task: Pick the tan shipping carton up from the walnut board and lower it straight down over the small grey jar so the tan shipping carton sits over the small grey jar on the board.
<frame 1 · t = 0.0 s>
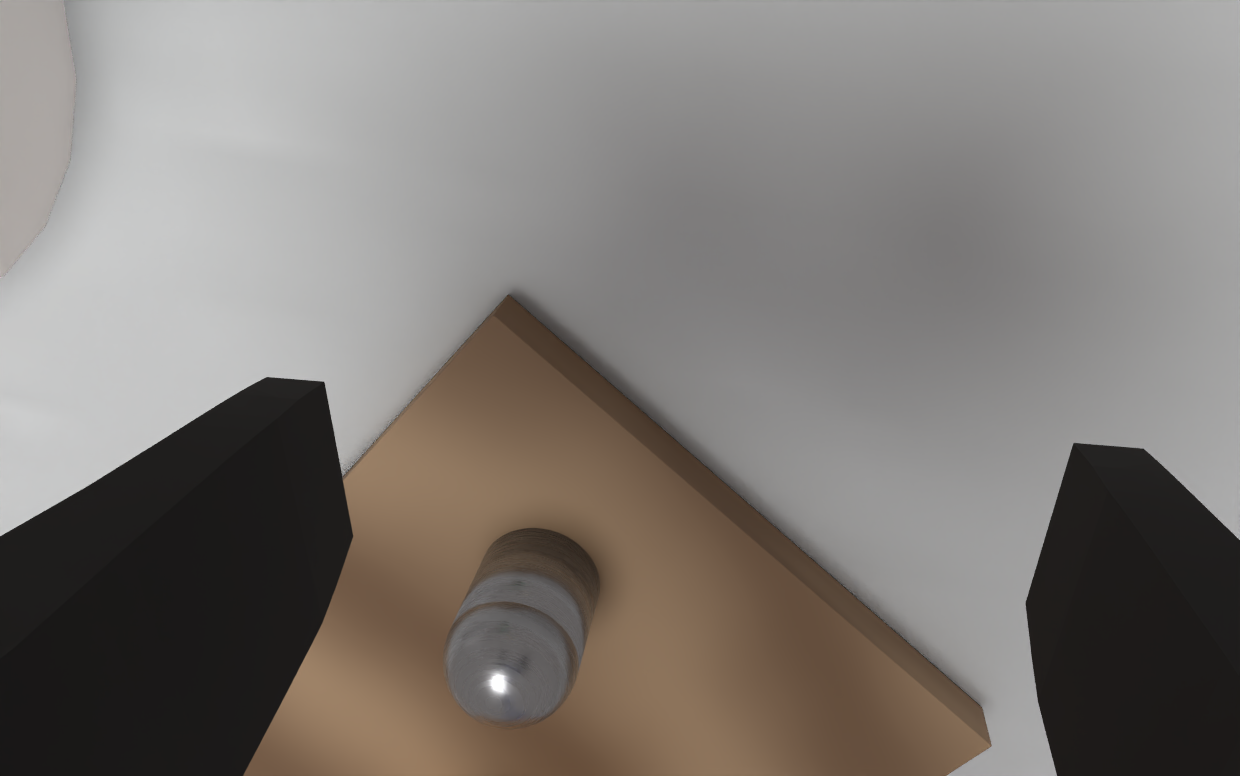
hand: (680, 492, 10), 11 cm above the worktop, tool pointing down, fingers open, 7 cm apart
small grey jar: (540, 580, 23), resting on board
board: (524, 710, 26), on the worktop
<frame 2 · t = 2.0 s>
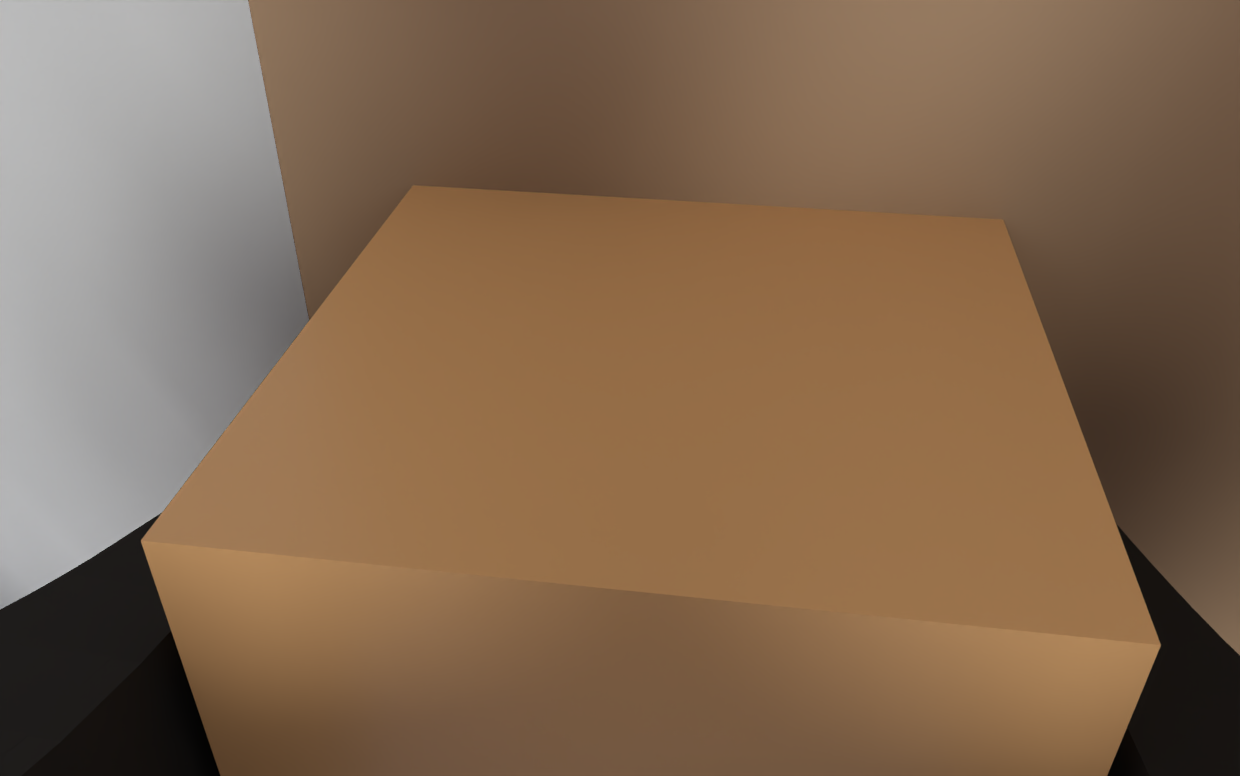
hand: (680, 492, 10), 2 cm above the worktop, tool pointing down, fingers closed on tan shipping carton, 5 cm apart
tan shipping carton: (687, 438, 11), point 1 cm above the worktop, touching board, gripper
board: (1131, 145, 10), on the worktop
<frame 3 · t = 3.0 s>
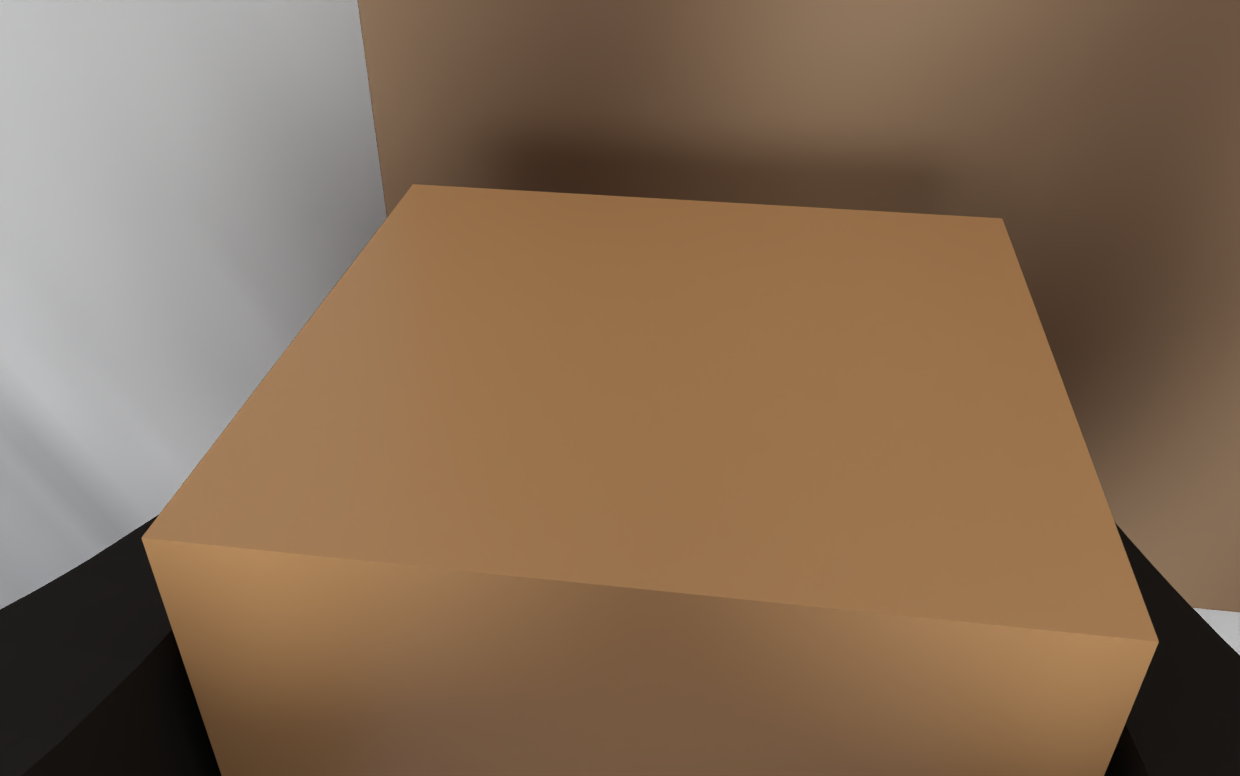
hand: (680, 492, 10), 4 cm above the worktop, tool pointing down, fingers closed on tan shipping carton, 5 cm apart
tan shipping carton: (687, 437, 11), point 4 cm above the worktop, touching gripper
board: (1085, 62, 12), on the worktop
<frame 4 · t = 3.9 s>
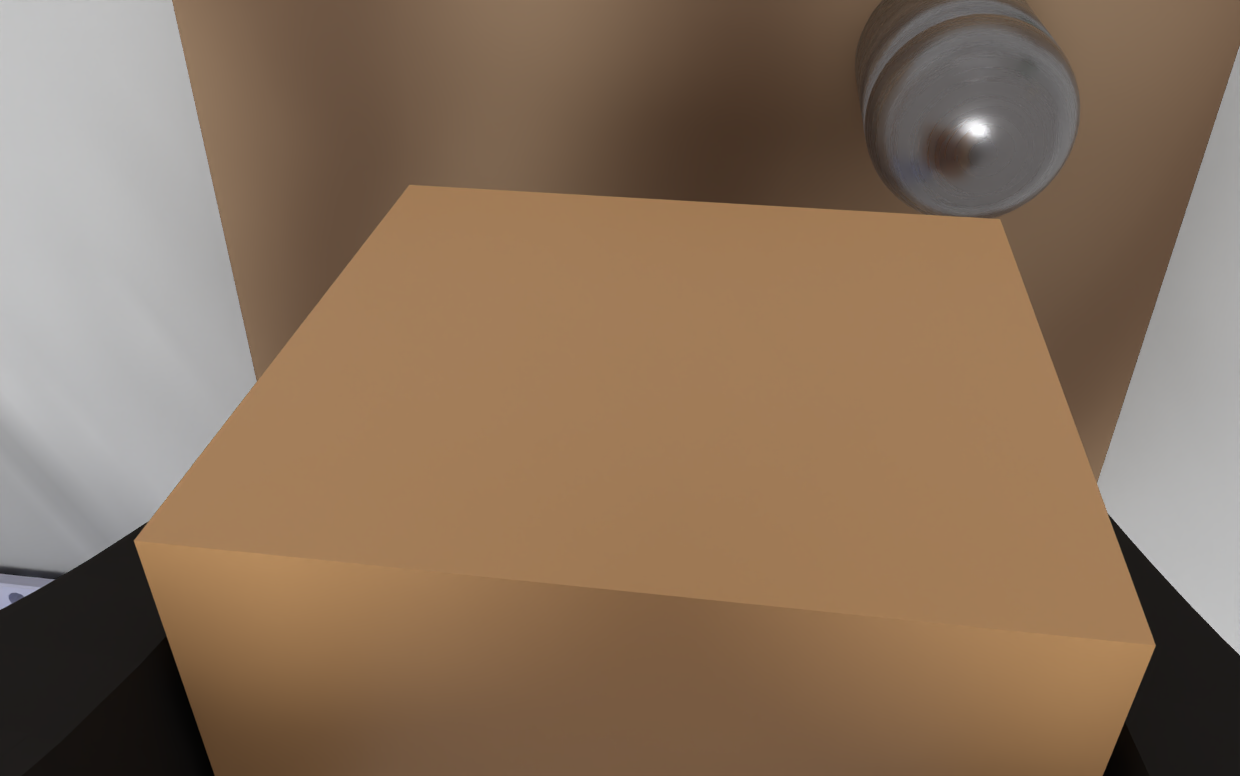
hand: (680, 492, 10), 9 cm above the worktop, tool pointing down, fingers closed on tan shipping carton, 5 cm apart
small grey jar: (945, 59, 16), resting on board
tan shipping carton: (685, 438, 11), point 8 cm above the worktop, touching gripper
board: (676, 173, 18), on the worktop
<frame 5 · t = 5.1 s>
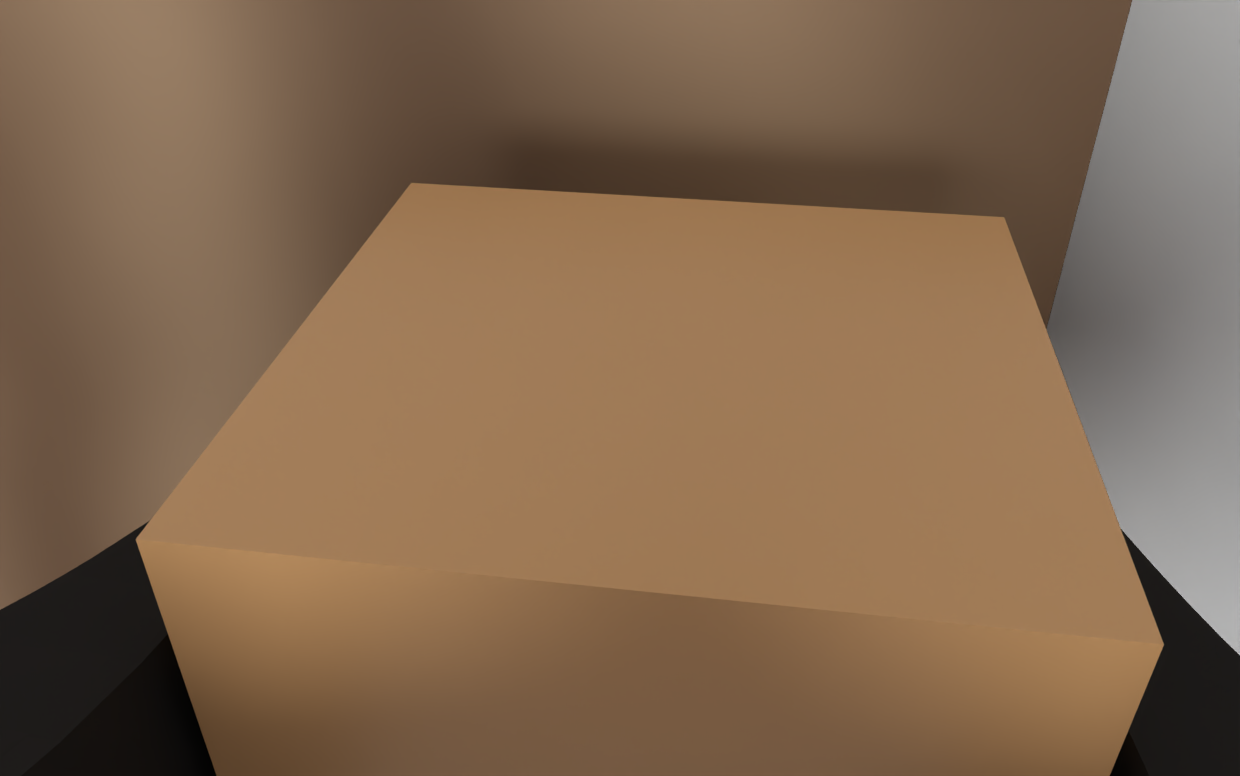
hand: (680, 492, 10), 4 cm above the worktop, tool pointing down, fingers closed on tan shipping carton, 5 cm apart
tan shipping carton: (687, 437, 11), point 3 cm above the worktop, touching gripper
board: (435, 416, 16), on the worktop
when the fingers open (3 cm above the worktop, at t = 5.9 s): tan shipping carton drops 1 cm, resting on board.
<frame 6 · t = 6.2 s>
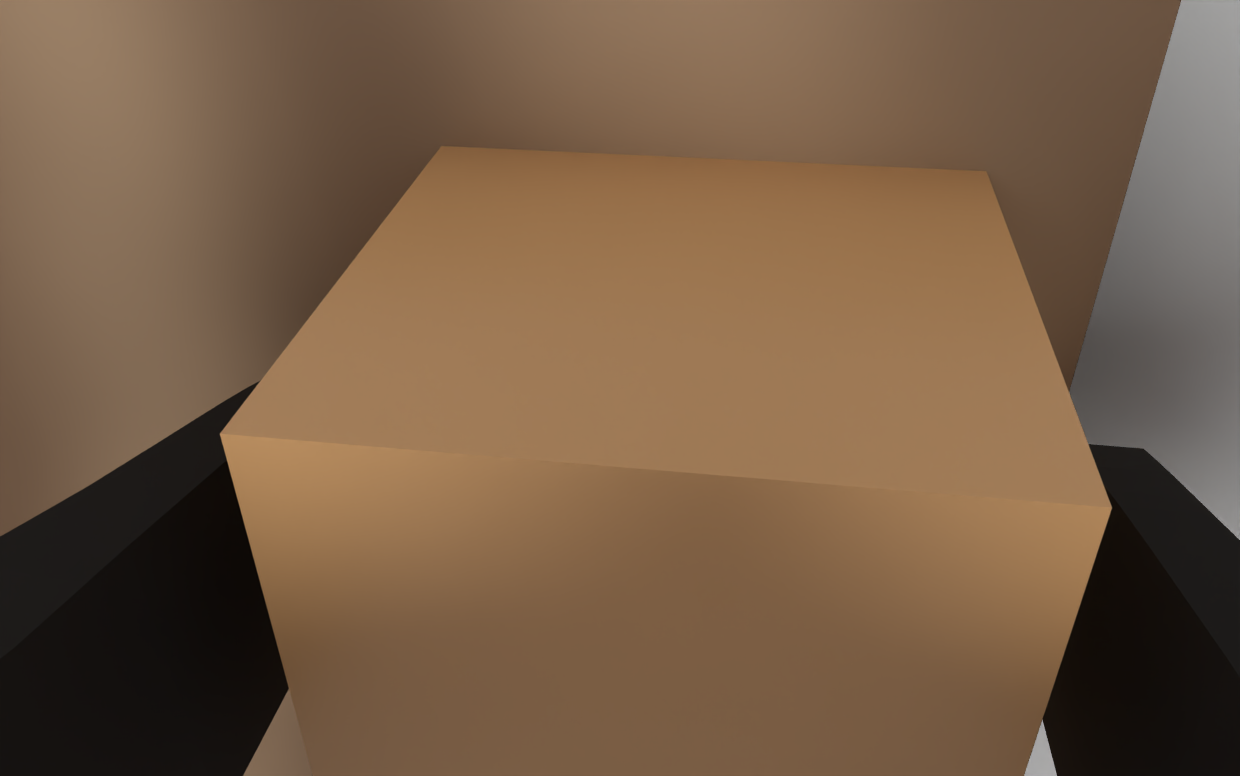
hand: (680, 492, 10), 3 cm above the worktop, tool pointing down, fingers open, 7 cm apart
tan shipping carton: (696, 384, 12), point 1 cm above the worktop, touching board
board: (411, 464, 15), on the worktop
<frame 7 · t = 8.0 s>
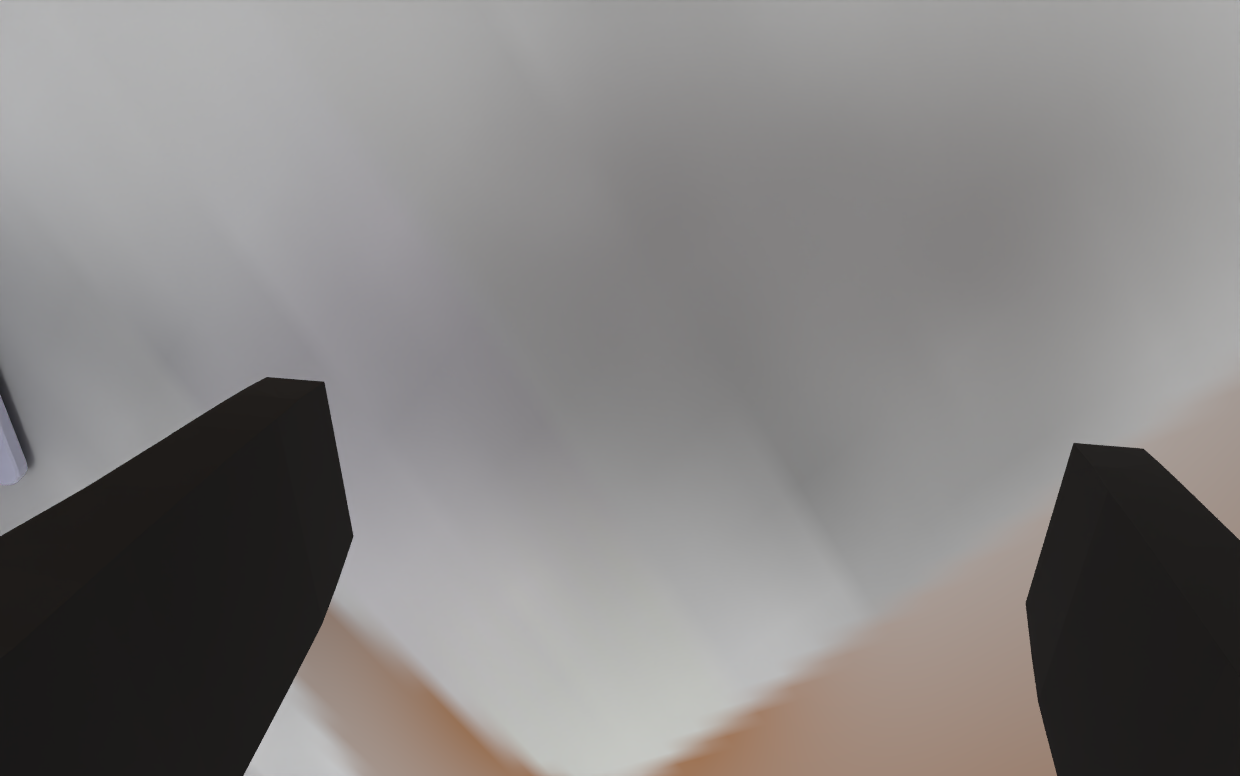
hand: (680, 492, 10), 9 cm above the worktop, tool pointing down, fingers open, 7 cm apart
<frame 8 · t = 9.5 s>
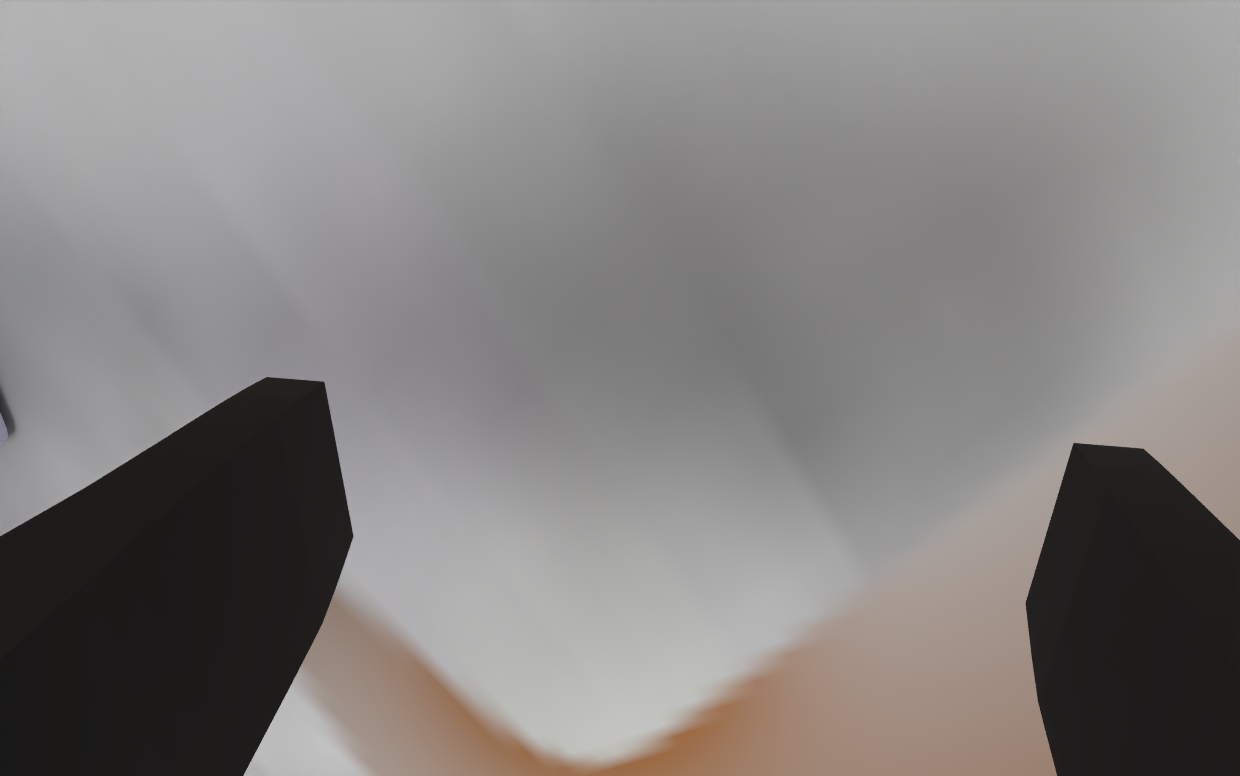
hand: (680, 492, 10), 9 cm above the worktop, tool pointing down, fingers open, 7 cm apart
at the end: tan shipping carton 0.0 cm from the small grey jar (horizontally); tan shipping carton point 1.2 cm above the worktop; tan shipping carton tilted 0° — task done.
